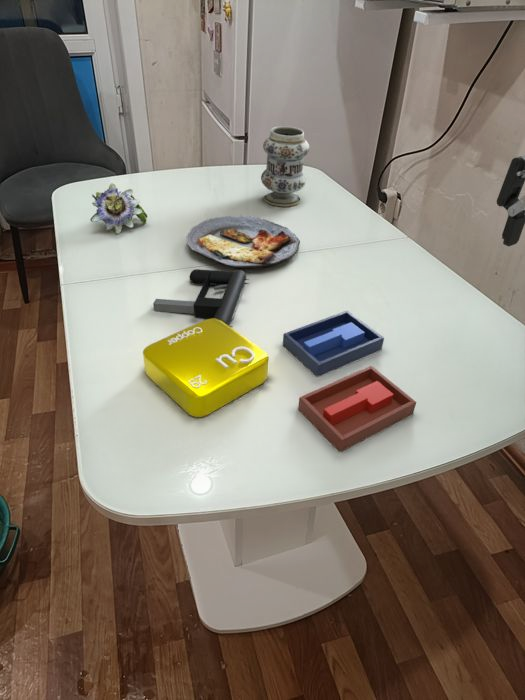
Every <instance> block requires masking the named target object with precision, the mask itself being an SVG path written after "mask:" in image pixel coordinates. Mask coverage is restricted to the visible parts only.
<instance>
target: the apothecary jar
mask: <svg viewBox="0 0 525 700" xmlns="http://www.w3.org/2000/svg"><path fill="white" fill-rule="evenodd" d="M269 133H270V134H269V136H268V137H267V138H266V139H265V140H264V141H263V143H262V148H263V151H264V152H265V153H266V154H267V156H266V157H267V158H266V168H265V169H264V170H263V172H262V173H261V176H260V182H261V184H262V185H263V186H264V187H265V188H266V189H267V190H270V191H272V192H269V193H266V194H265V195H264V196H263V200H264V201H265V202H266V203H267V204H269V205H271V206H275V207H285V208H286V207H294V206H297V205H299V204H300V201H301V197H300V195H297V194H295V193H297V192H299V191H301V190H303V188H304V187H305V186H306V184H307V176H306V174H305V173H304V171H303V169H304V161H305V160H304V159H305V157H306V156H307V155H308V153H309V152H310V144H309V142H308V141H307V140H306V139H305V131H304V130H303V129H302V128H298V127H296V126H288V125H287V126H285V125H281V126H279V125H278V126H274V127H272V128H271V129H270V132H269Z"/></svg>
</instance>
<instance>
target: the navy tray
mask: <svg viewBox="0 0 525 700" xmlns="http://www.w3.org/2000/svg"><path fill="white" fill-rule="evenodd" d="M350 322H352V323H353V324H354V325H356V326H357V327H358V328H360V329H361V330H362V331H364V332H365V334H364V339H363V341H361V342H358V343H356V344H354V345H351V346H349V347H346V348H343V347H342V346H341V345H340V346H337V347H335V348H332V349H330V350H327V351H325V352H322V353H320V354H317V355H315V356H312V355H311V354H310V353H309V352H307V351H306V350H305V349H304V348H303V345H304V342H306V341H308V340H311V339H313V338H316V337H319V336H321V335H324V334H326V333H329V332H332V329H335V328H337V327H340V326H343V325H345V324H348V323H350ZM384 342H385V337H383V335H381V334H379V332H377V331H376V330H375V329H373V328H372V327H370V326H369V325H368V324H366V323H365V322H363V321H362V320H360V319H359V318H358V317H356V315H354V314H353V313H351V312H350V311H349V310H344V311H342V312H339V313H336V314H333V315H331V316H327V317H325V318H323V319H320V320H317V321H314V322H312V323H311V322H310V323H309V324H306V325H303V326H301V327H298V328H295V329H293V330H289V331H287V332H284V333H283V335H282V346H284V347H285V348H286V349H287V350H288V351H289V353H291V354H292V355H293V356H294V357H296V359H297V360H299V362H301V363H302V364H303V365H304V367H306V368H307V369H308V370H309V371H310V372H311V373H313V374H314V376H316V377H319V376H322V375H324V374H327V373H329V372H331V371H334V370H336V369H338V368H341V367H343V366H345V365H348V364H350V363H352V362H355V361H357V360H360V359H361V358H364V357H366V356H368V355H371V354H374V353H376V352H378V351H380V350H383V345H384Z"/></svg>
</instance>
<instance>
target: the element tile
mask: <svg viewBox="0 0 525 700" xmlns="http://www.w3.org/2000/svg"><path fill="white" fill-rule="evenodd" d="M229 326H230V325H229ZM229 326H228V325H227V324H225V323H224V322H222V321H220V320H218V319H215V318H211V319H203V320H201V321H200V322H197V323H195V324H193V325H191V326H189V327H186V328H184V329H181V330H179V331H177V332H175V333H173V334H170V335H169V336H166V337H164V338H162V339H159V340H157V341H155V342H153V343H151V344H148V345H147V346H145V347H144V349H143V350H142V357H143V364H144V371H145V374H146V375H147V377H148V378H149V379H150V380H152V382H154V384H156V385H157V386H158V387H159V388H160V389H161V390H162V391H163V392H164V393H165V394H166V395H167V396H168V397H170V398H171V399H172V400H173V402H175V403H176V404H177V405H178V406H179V407H180V408H182V409H183V410H184V411H185V412H186V413H187V414H188V415H190V416H192V417H195V418H202V417H206V416H208V415H210V414H212V413H214V412H215V411H217V410H219V409H220V408H222V407H224V406H226V405H227V404H229V403H231V402H232V401H235V400H236V399H239V397H241V396H243V395H245V394H247V393H249V392H250V391H252V390H253V389H255V388H257V387H259V386H260V385H262V384H263V383H265V382H266V380H267V379H268V376H269V375H268V374H269V372H268V371H269V355H268V354H267V352H266V351H265V350H263V349H262V348H260V347H259V346H257V345H256V344H255V343H253V342H252V341H250V340H249V339H247V338H246V337H245V336H243V335H242V334H241V333H239V332H238V331H237V330H235V329H234V328H233V327H229Z"/></svg>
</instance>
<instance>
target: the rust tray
mask: <svg viewBox="0 0 525 700" xmlns="http://www.w3.org/2000/svg"><path fill="white" fill-rule="evenodd" d="M376 381H378V382H380V383H381V384H382V385H383V386H384V387H386V388H387V389H388V390H389V391H390V392H392V393H393V394H394V396H393V400H392V403H390V404H388V405H386V406H384V407H382V408H380V409H378V410H376V411H374V412H372V413H369V412H368V411H367V410H366V409H365V410H363V411H361V412H359V413H357V414H355V415H353V416H351V417H349V418H347V419H345V420H343V421H341V422H339V423H337V424H335V425H333V426H332V425H331V424H330V423H329V422H328V421H327V420H326V419H325V418H324V417H323V412H324V409H325V408H327V407H329V406H331V405H334V404H336V403H338V402H340V401H342V400H344V399H346V398H349V397H351V396H353V395H355V393H356V390H358V389H361V388H363V387H365V386H367V385H369V384H371V383H373V382H376ZM416 405H417V401H415V400H414V399H413V398H412V397H411V396H409V395H408V394H407V393H406V392H405V391H403V390H402V389H401V388H400V387H399V386H397V385H396V384H395V383H393V382H392V381H391V380H390V379H388V377H386V376H385V375H384V374H382V373H381V372H380V371H379V370H377V369H376V368H375V367H374V366H373V365H369V366H366V367H365V368H363V369H360V370H358V371H356V372H353V373H351V374H349V375H346V376H344V377H342V378H340V379H338V380H336V381H333V382H330V383H329V384H326V385H324V386H322V387H319V388H316V389H315V390H313V391H310V392H308V393H306V394H304V395H301V396H299V398H298V406H297V409H298V411H299V412H300V413H301V414H302V415H303V416H304V417H305V418H306V419H307V420H308V421H309V422H310V423H311V424H312V425H313V426H314V427H315V428H316V429H317V430H318V431H319V432H320V433H321V434H322V435H323V436H324V437H325V438H326V439H327V441H329V443H330V444H332V445H333V447H335V448H336V449H337V451H338V452H339V453H341V452H343V451H345V450H347V449H348V448H351V447H353V446H354V445H356V444H358V443H360V442H362V441H364V440H365V439H367V438H369V437H371V436H373V435H375V434H377V433H379V432H381V431H383V430H385V429H387V428H389V427H391V426H392V425H394V424H396V423H398V422H400V421H402V420H404V419H406V418H407V417H409V416H411V415H413V414H414V412H415V408H416Z"/></svg>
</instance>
